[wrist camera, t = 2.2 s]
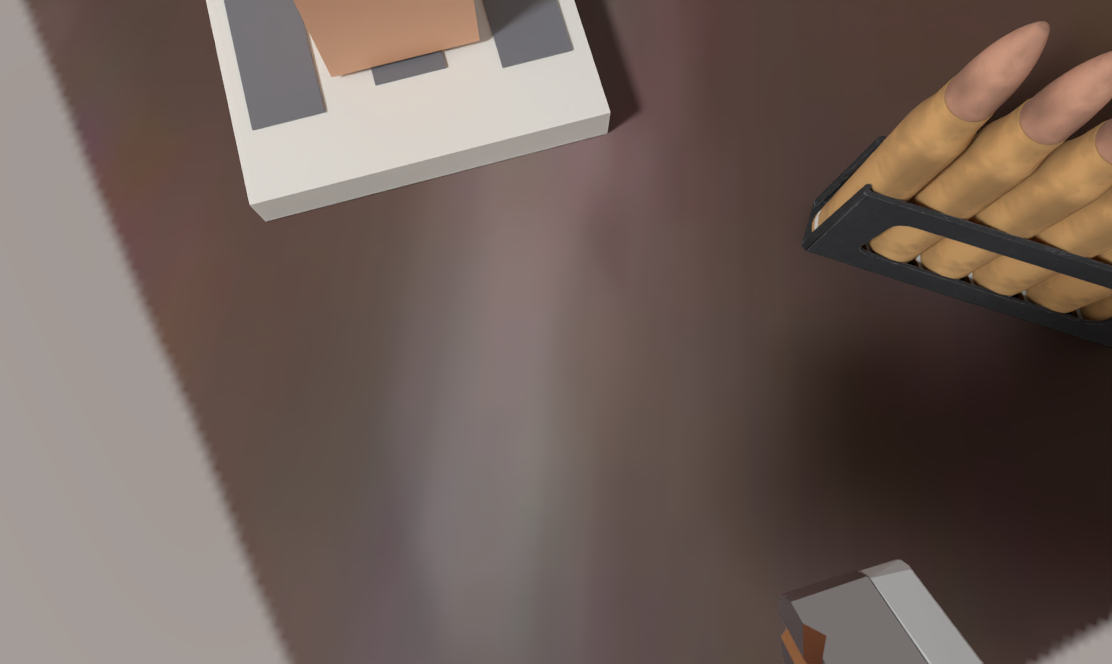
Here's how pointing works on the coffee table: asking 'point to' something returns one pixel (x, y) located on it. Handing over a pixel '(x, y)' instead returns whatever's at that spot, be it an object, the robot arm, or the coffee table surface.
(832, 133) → the coffee table surface
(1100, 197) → the ammunition clip
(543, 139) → the switch board
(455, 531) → the coffee table surface
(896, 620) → the robot arm
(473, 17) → the tan rectangular block
